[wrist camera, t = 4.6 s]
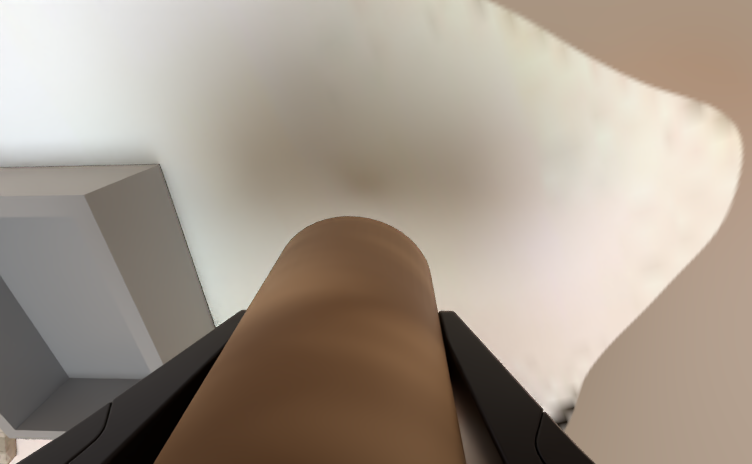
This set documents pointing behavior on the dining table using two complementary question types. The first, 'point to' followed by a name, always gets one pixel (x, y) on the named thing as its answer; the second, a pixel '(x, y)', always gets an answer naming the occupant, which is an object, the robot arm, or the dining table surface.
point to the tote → (88, 291)
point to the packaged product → (7, 448)
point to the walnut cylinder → (330, 362)
